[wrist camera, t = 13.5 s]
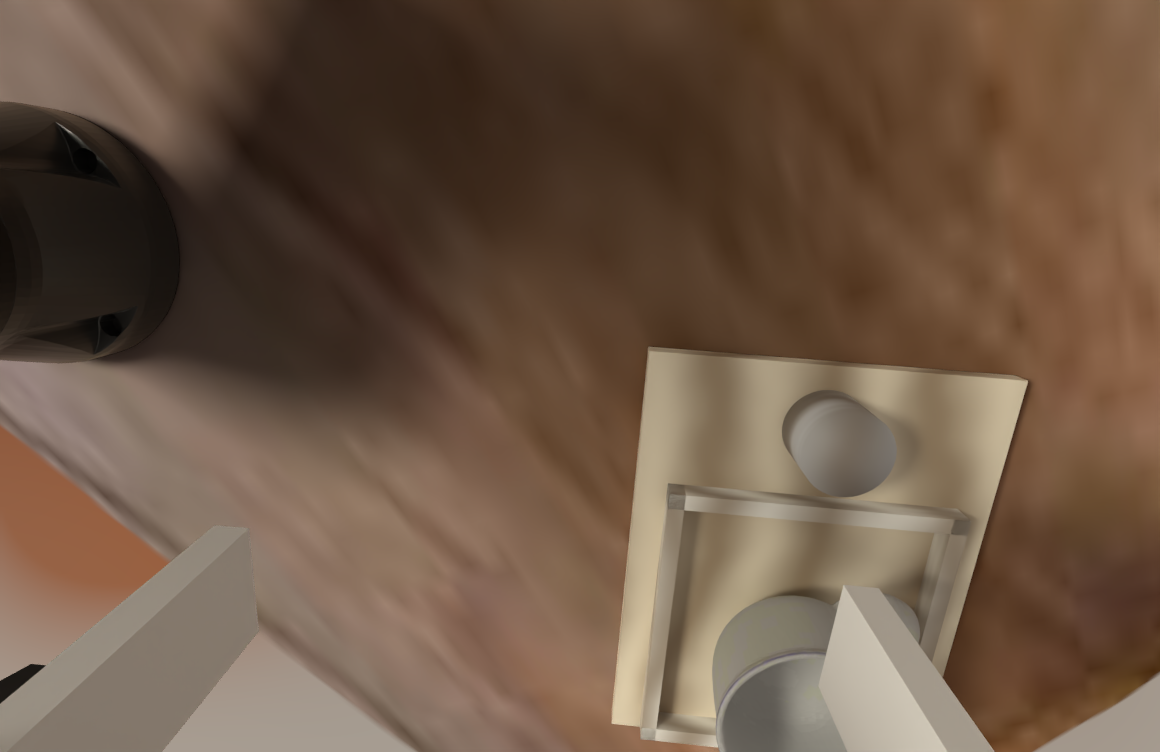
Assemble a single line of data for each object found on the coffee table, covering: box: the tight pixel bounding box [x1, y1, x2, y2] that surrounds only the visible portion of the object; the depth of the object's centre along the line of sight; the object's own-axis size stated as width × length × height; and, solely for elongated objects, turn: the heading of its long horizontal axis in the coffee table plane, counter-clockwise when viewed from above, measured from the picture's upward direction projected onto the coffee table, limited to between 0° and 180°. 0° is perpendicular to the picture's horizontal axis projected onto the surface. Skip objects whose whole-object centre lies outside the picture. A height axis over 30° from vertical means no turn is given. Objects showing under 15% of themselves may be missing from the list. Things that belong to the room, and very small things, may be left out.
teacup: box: [712, 593, 920, 752], centre depth 36 cm, size 14×11×8 cm
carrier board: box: [612, 347, 1028, 747], centre depth 37 cm, size 22×28×5 cm
